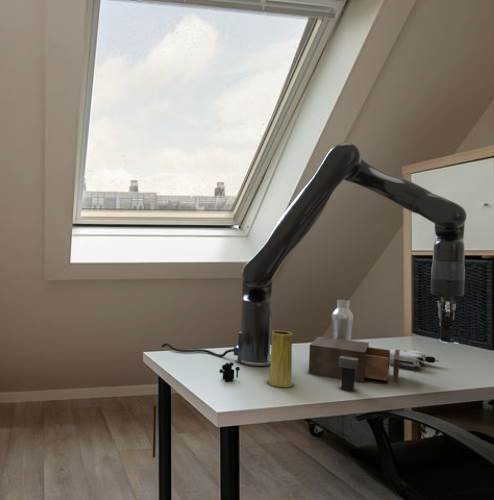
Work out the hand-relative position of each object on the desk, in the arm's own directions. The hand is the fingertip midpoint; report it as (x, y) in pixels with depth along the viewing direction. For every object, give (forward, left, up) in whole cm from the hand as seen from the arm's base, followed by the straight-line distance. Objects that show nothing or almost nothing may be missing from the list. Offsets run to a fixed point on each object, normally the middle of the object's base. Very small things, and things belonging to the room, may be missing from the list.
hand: (445, 340), depth 130 cm
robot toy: (-8, +23, -13) cm, 28 cm away
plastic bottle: (-27, +15, -13) cm, 34 cm away
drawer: (-15, 0, -12) cm, 19 cm away
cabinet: (-26, 0, -13) cm, 29 cm away
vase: (-38, -23, -13) cm, 46 cm away
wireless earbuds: (-51, -28, -13) cm, 60 cm away
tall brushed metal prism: (-22, -17, -13) cm, 31 cm away
